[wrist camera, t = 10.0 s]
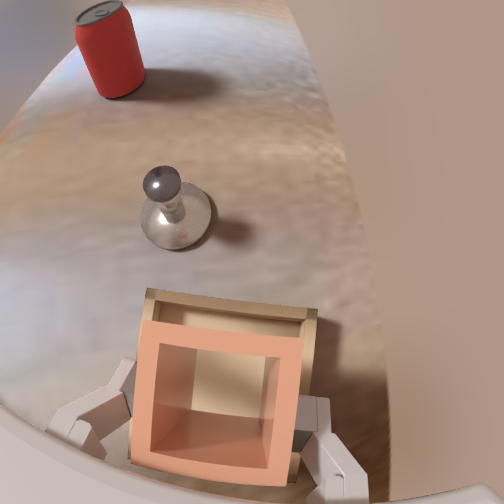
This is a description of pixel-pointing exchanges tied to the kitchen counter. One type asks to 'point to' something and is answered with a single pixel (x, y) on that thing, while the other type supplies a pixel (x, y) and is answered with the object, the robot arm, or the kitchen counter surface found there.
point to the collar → (212, 424)
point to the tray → (229, 364)
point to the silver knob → (173, 210)
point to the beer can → (110, 48)
